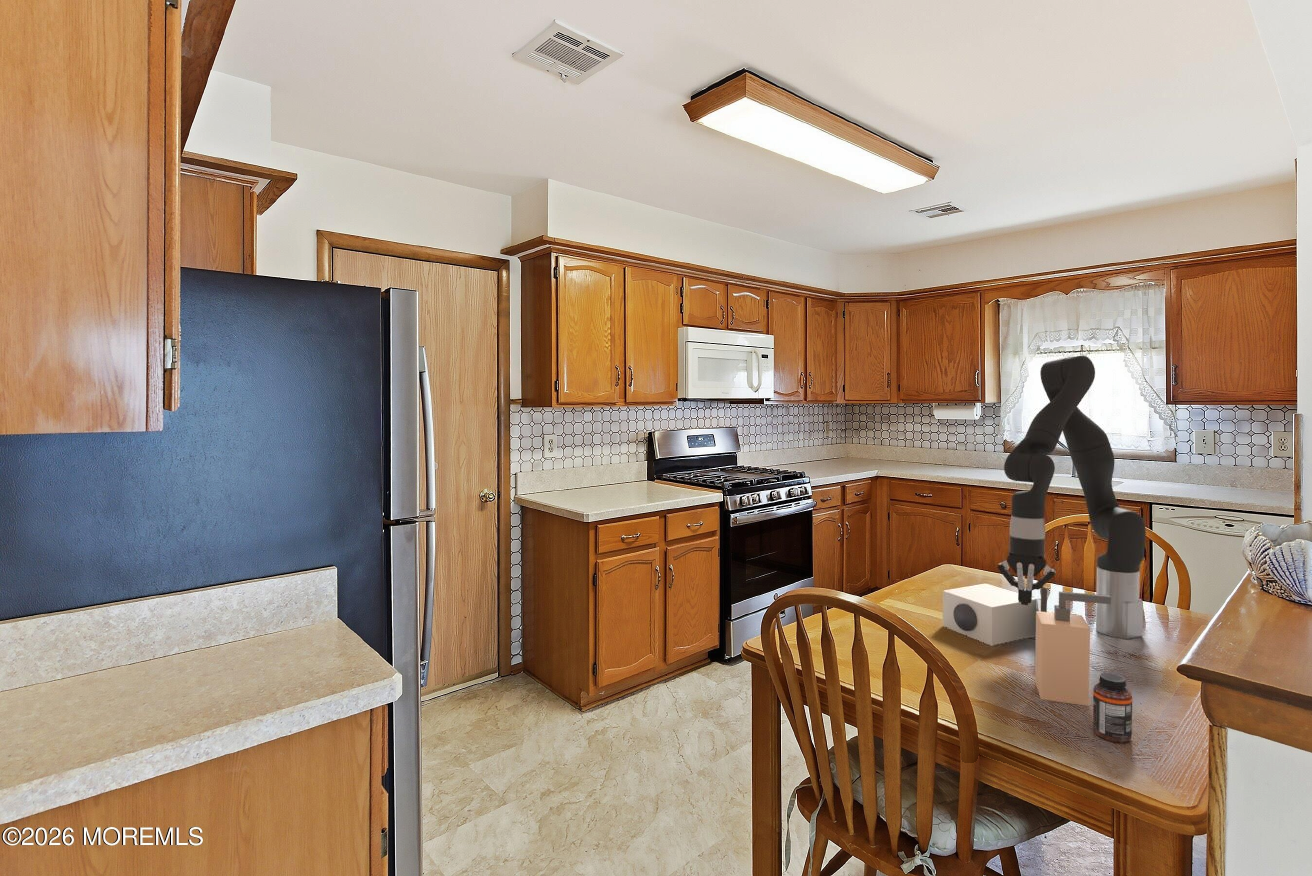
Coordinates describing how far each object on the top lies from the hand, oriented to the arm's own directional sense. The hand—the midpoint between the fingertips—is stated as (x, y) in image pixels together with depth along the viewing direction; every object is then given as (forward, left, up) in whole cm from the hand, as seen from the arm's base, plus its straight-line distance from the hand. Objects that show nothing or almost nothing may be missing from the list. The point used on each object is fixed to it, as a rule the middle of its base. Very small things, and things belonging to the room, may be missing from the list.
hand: (1024, 604), depth 160 cm
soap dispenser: (-20, +11, -12) cm, 26 cm away
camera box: (+15, -5, -12) cm, 20 cm away
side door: (+1, -7, -12) cm, 14 cm away
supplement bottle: (-34, +20, -12) cm, 42 cm away
